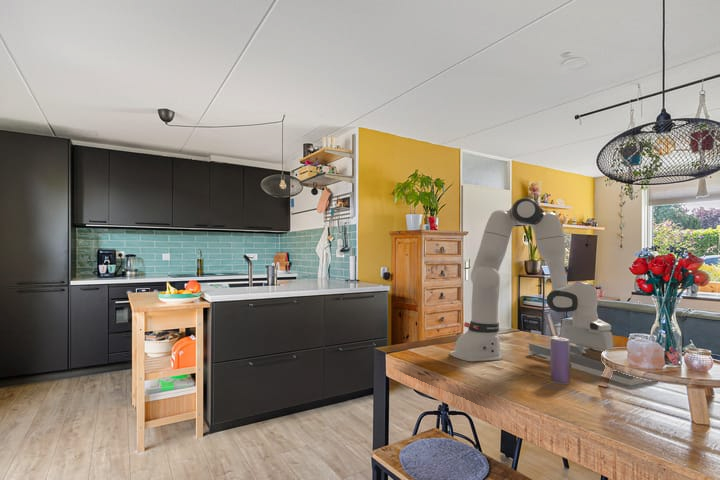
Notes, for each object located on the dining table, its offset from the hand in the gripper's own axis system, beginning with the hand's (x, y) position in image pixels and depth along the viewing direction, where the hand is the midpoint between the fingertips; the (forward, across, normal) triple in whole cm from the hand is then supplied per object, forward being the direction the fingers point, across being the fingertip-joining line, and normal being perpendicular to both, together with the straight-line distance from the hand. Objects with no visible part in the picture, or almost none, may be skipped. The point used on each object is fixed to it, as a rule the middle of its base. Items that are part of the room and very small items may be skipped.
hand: (585, 357), depth 154 cm
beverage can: (+3, +10, -27) cm, 29 cm away
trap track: (+3, +1, 0) cm, 3 cm away
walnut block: (+1, +6, 0) cm, 6 cm away
